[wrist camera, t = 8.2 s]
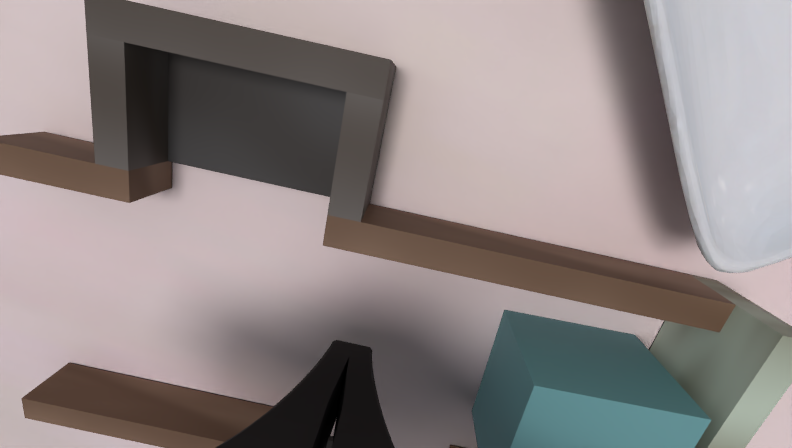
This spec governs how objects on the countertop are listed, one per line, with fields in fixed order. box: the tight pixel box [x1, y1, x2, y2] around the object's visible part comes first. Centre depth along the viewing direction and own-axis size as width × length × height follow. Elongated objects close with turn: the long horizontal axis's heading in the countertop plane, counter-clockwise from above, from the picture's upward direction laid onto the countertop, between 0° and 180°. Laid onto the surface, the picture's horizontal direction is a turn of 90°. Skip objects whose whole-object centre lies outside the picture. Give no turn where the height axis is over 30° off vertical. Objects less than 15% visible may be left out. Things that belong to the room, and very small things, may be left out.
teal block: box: [472, 310, 711, 448], centre depth 13 cm, size 5×5×4 cm
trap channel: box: [0, 0, 792, 448], centre depth 13 cm, size 20×24×4 cm
